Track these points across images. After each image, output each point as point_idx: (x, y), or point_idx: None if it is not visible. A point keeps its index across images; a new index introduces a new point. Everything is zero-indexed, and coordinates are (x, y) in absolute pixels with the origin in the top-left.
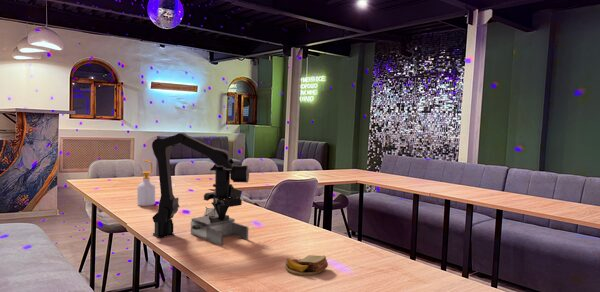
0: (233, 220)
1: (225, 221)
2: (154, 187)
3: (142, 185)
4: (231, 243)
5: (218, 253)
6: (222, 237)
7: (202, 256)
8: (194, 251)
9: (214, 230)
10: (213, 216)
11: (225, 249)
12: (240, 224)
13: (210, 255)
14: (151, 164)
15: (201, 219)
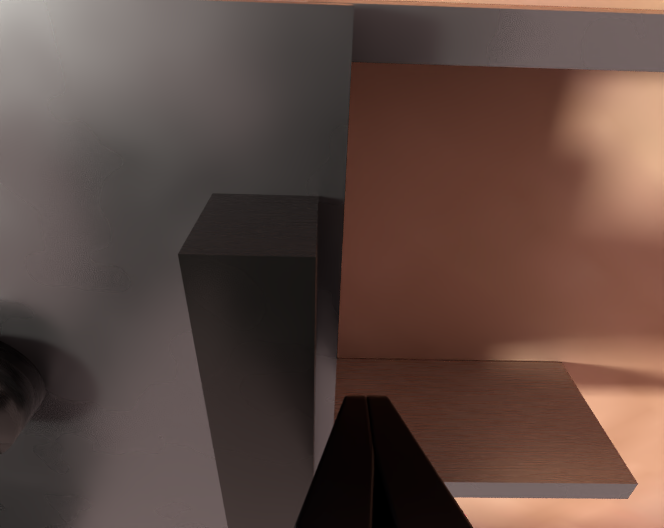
0: (349, 49)
1: (338, 292)
2: None
3: None
4: (595, 275)
5: (659, 459)
6: (601, 428)
7: (598, 525)
8: (483, 516)
9: (489, 495)
10: (7, 417)
11: (653, 394)
12: (624, 17)
13: (632, 498)
14: None
15: (9, 498)
